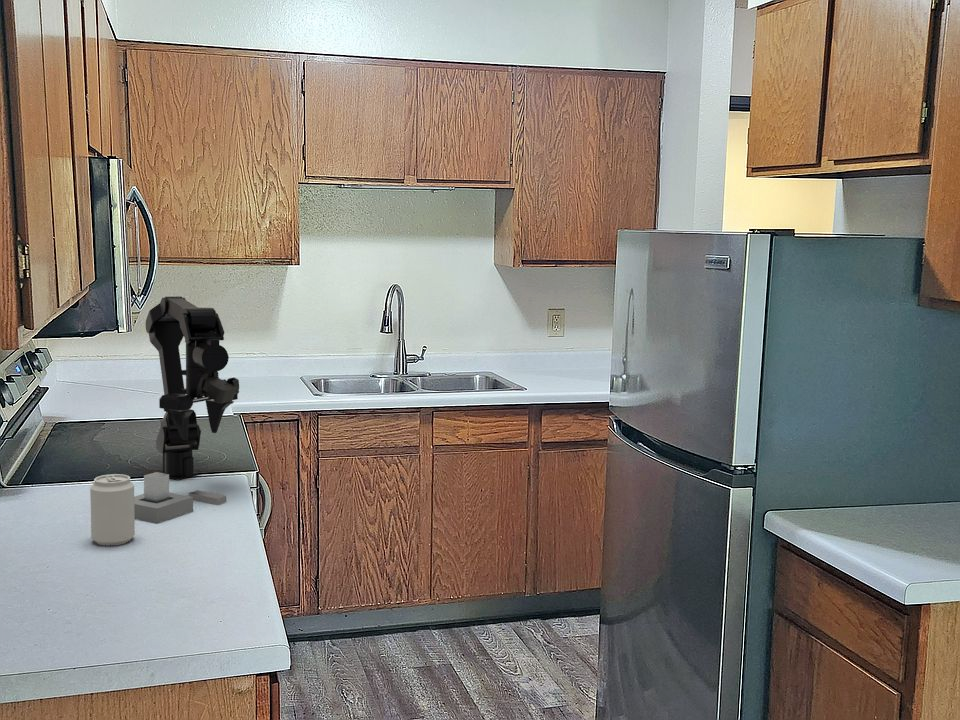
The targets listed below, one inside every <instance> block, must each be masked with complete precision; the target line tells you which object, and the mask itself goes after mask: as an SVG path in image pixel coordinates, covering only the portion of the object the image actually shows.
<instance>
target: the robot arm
mask: <svg viewBox="0 0 960 720" xmlns="http://www.w3.org/2000/svg"><path fill="white" fill-rule="evenodd" d="M145 330H146V333H147V334H148V338H149V342H150V344H151V345H152V346H153V347H154V349H156V351H157V352H158V357H159V364H160V365H159V366H160V374H161V380H162V387H163V394H162V395H161V397H160V398H158V400H159V401H158V402H159V403H158V404H159V405H158V406H159V409H163V412H165V413H164V415H163V417H162V419H161V421H160V428H159V431H158V434H157V437H156V440H155V445H156V446H155V448H156V450H157V451H158V452H160V453H161V454H162V473H164V474H169V479H172V480H177V481H178V480H182V479H183V480H184V479H186V478H189V477H192V476H193V477H194V476H196V475H198V472H197V471H194V466H195V465H194V456H193V451H198V450H199V447H200V441H201V434H202V429H200V425H199V424H198V421H197V413H196V411H195V410H194V409H192V407H193V405H194V404H197V403H200V402H205V406H206V410H207V411H206V412H207V417H208V422H209V426H210V431H211V433H212V434H216V433H218V430H219V427H220V424H221V421H222V418H223V415H224V413H225V411H226V409H227V408H228V407H229V406H230V405H232V404H234V403H235V401H236V400H238V399H239V398H238V395H239V393H240V391H239V390H240V381H239V379H238V378H236V377H229V378H227V379H222V378H219V371H221V370H224V369H225V367H227V364H228V362H229V358H230V356H229V353H228V351H227V349H226V348H225V347H224V346H223V345H220V341H224V340H225V337H224V335H225V330H224V327H223V325H222V321H221V319H220V316H219V314H218V312H217V311H216V309H215V308H214V307H200V306H199V307H198V306H196V305H195V304H193V303H191V302H190V301H188V300H186V298H185V297H183V296H177V295H176V296H165V297H162V298H161V300H160V302H159V303H158V304H156V305H155V306H153V307H152V308H151V309H150V310H149V311H148V314H147V317H146V319H145ZM183 338H184V343H185V369H182V362H181V355H180V345H181V342H182V341H183ZM184 376H185V383H184Z"/></svg>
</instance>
